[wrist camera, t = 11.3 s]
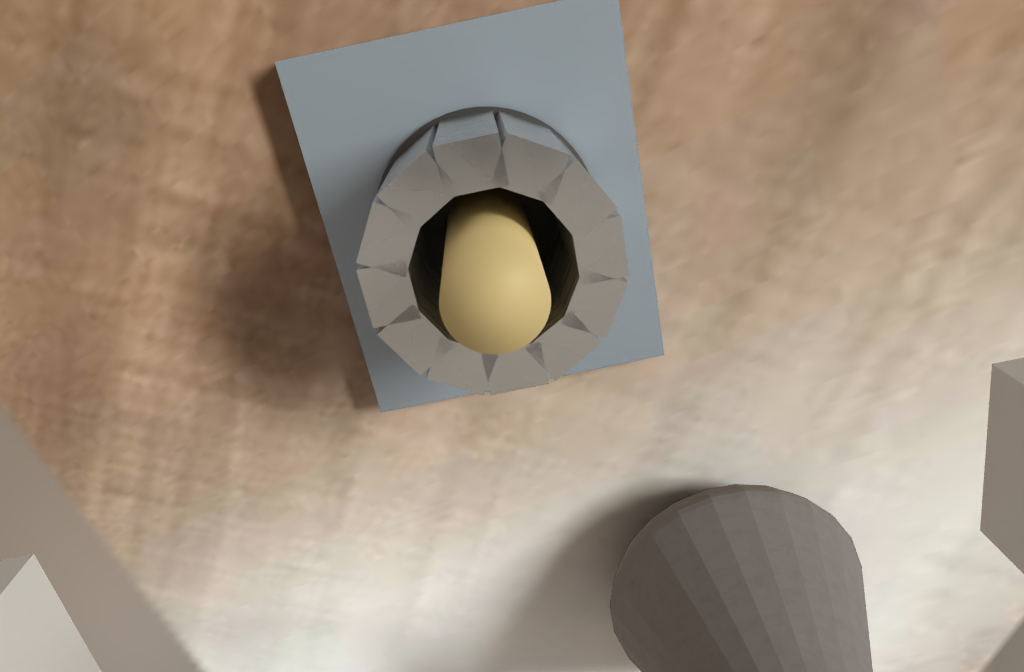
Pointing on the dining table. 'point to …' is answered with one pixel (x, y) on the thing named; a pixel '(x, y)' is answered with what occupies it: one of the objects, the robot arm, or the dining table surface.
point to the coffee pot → (742, 587)
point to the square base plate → (489, 213)
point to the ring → (568, 267)
